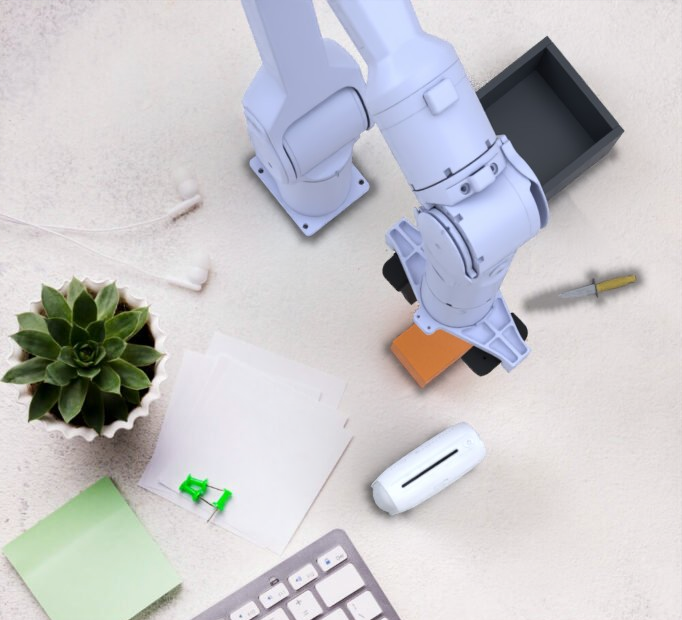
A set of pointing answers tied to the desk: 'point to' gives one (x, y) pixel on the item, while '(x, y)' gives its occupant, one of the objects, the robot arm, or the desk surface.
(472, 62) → the desk surface
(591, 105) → the bin
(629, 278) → the dagger
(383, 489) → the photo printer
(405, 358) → the block
